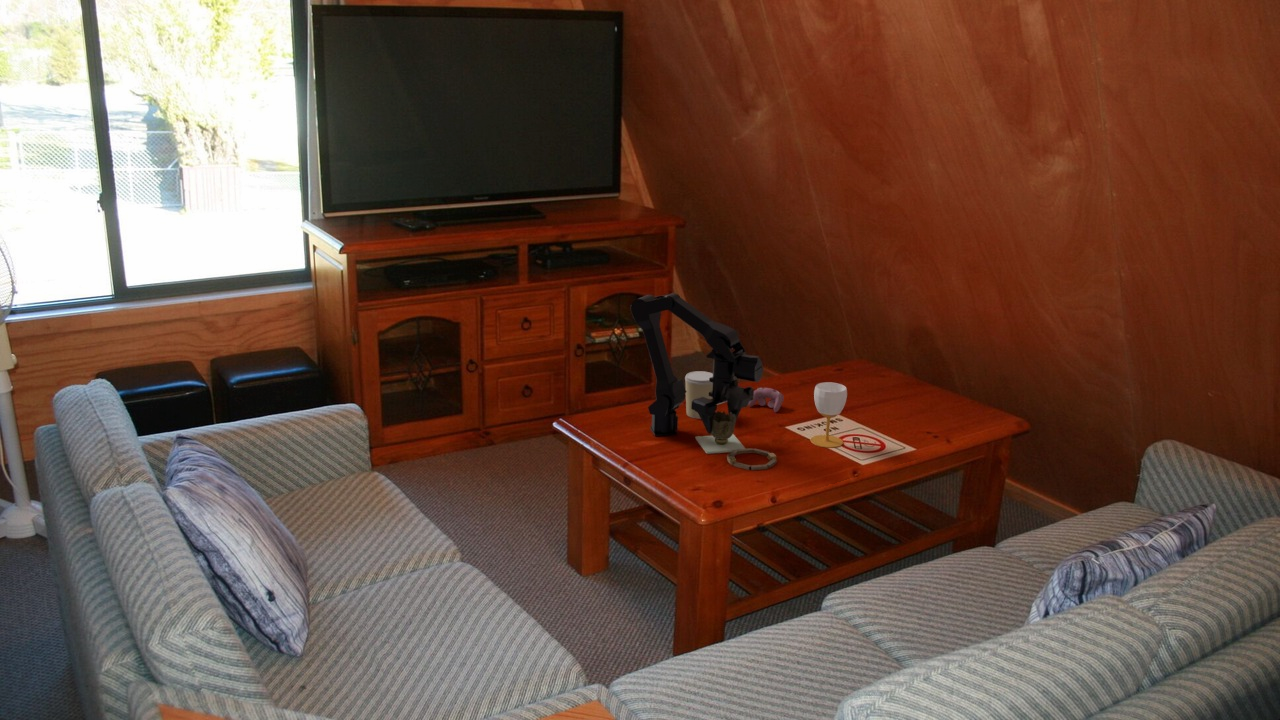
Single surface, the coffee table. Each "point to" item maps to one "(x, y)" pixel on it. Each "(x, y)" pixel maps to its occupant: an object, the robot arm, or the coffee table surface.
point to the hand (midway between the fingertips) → (720, 429)
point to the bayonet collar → (770, 456)
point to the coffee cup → (697, 389)
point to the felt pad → (713, 447)
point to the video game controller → (767, 393)
